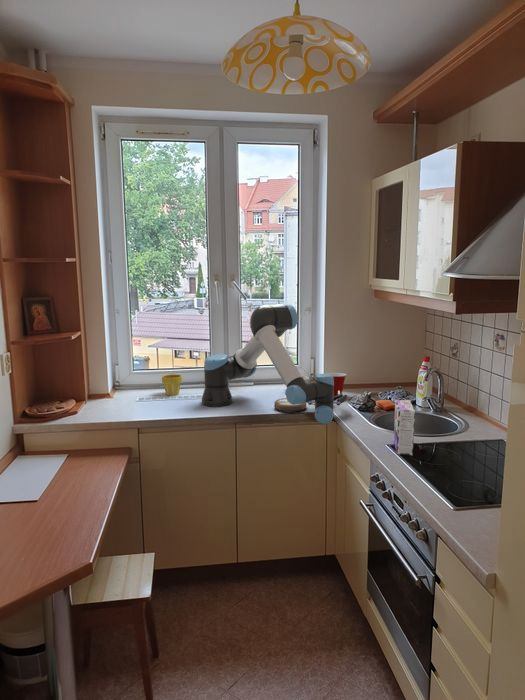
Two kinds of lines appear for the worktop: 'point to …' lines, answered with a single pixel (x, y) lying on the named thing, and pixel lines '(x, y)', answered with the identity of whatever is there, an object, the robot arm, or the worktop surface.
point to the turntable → (288, 405)
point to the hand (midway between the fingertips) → (324, 393)
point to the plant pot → (172, 383)
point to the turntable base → (290, 411)
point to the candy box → (404, 427)
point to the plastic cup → (338, 382)
